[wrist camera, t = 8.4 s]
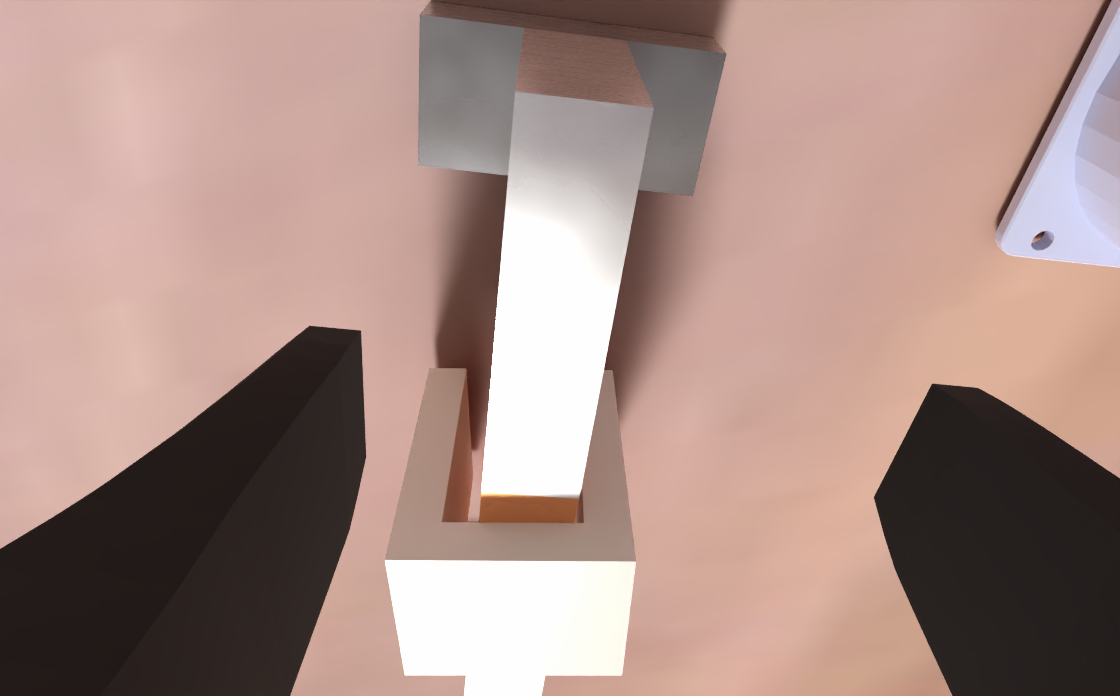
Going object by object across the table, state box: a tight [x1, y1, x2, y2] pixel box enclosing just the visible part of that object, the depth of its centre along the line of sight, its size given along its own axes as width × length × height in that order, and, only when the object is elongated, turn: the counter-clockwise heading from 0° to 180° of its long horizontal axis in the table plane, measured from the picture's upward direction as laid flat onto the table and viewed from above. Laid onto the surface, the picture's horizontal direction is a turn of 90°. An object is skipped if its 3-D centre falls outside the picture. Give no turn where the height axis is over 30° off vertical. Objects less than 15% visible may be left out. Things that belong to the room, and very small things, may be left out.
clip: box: [385, 368, 636, 676], centre depth 18 cm, size 5×4×6 cm
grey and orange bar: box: [418, 1, 726, 696], centre depth 18 cm, size 6×20×6 cm, turn 173°
